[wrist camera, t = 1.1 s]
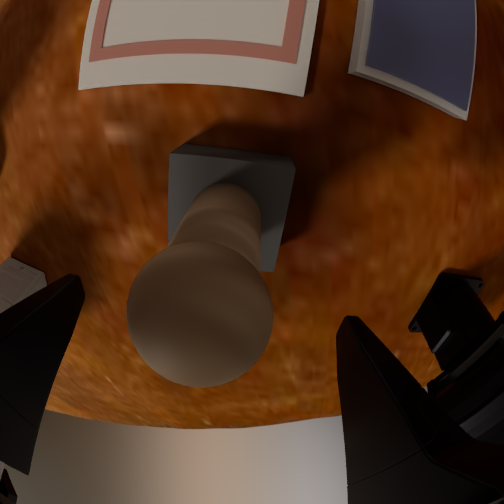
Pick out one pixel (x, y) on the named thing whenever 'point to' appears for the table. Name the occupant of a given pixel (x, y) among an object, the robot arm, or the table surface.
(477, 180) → the table surface
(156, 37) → the board
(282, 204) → the stamp
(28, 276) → the small box
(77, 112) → the table surface
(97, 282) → the table surface
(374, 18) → the ink pad
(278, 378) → the table surface
